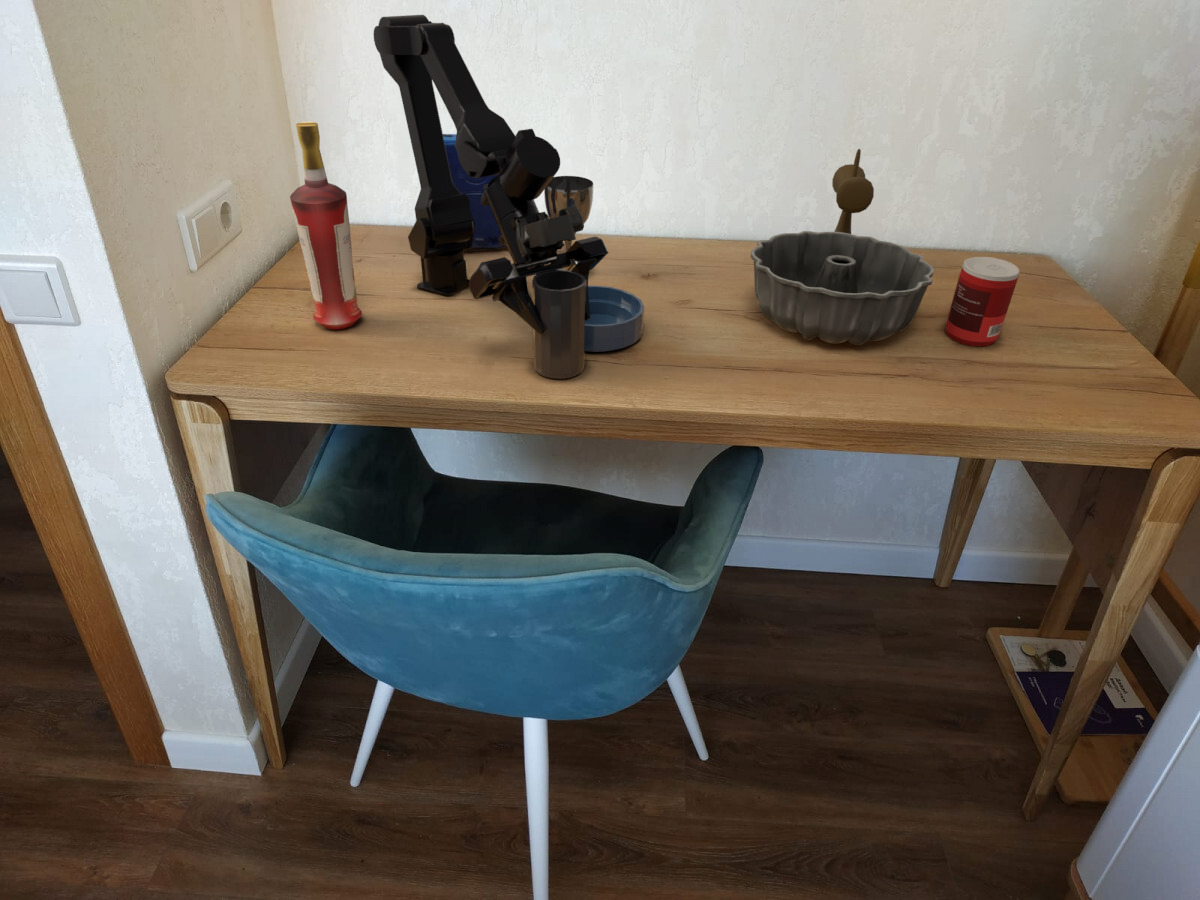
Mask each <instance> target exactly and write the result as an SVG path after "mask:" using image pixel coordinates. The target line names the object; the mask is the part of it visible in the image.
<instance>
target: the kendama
mask: <svg viewBox="0 0 1200 900" xmlns="http://www.w3.org/2000/svg"><path fill="white" fill-rule="evenodd" d="M861 152H862V149H861V148H858V149H857V150H856V154H855V156H854V161H853V164H852V163H851V164H844V165H842V166H840V167H838V169H836V171H835V172H834V174H833V177H832V179H831V181H832V183H831V185H832V189H833V191H834V193H835V194H836V196H835V199H836V201H835V202H836V204H837V206H838V208H839V209H840V210H841V213H840V216H839V218H838V222H837V224H836V227H835V229H834V231H833V232H842V233H848V234H852V215H853V214H858V213H862V212H863V211H866V210H867V209H868V208H869V206H870V205H871V204H872V201H873V199H874V196H875V195H874V193H875V188H874V186H873V183H872V182H871V181H870V180H869V179H867V178H866V173H865V170H864V169H863V168H862V167H861V166H860V161H861V154H862V153H861Z"/></svg>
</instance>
